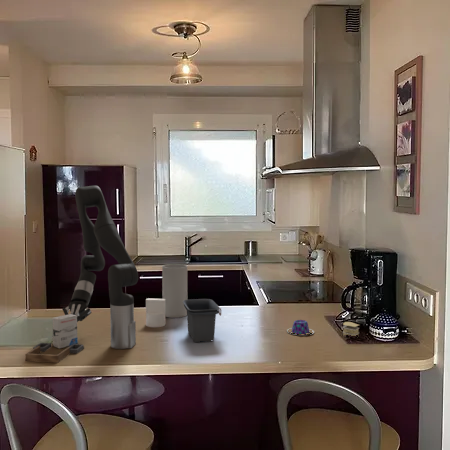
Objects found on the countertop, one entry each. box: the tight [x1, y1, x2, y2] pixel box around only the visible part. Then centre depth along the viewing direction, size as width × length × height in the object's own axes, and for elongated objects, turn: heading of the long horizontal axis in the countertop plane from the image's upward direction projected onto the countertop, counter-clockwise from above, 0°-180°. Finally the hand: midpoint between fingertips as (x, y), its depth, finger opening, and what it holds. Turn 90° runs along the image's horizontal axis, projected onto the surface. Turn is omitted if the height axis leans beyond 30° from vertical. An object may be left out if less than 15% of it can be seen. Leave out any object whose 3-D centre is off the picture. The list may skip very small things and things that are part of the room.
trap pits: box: [32, 342, 85, 354], centre depth 189 cm, size 18×6×2 cm, turn 83°
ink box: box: [52, 313, 79, 349], centre depth 195 cm, size 8×5×12 cm, turn 141°
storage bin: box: [183, 298, 222, 343], centre depth 207 cm, size 21×16×14 cm
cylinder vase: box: [161, 263, 188, 319], centre depth 242 cm, size 12×12×25 cm
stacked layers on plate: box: [342, 321, 360, 336], centre depth 209 cm, size 10×9×6 cm
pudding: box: [286, 319, 315, 336], centre depth 215 cm, size 12×12×5 cm
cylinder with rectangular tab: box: [145, 297, 166, 328], centre depth 225 cm, size 9×9×12 cm
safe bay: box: [24, 346, 71, 363], centre depth 181 cm, size 13×9×2 cm
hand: (70, 328), depth 200 cm, fingers closed
